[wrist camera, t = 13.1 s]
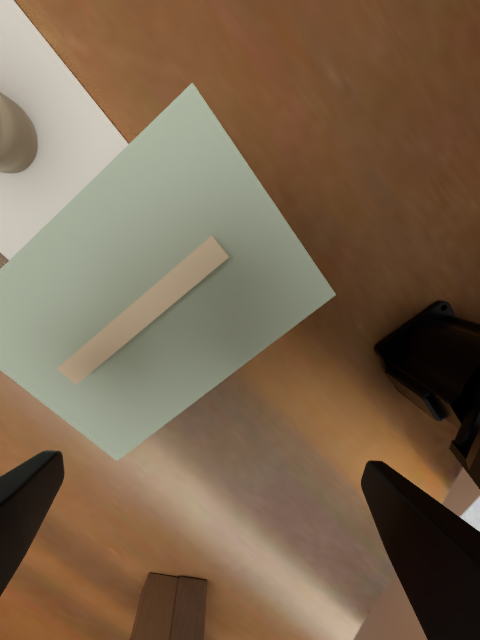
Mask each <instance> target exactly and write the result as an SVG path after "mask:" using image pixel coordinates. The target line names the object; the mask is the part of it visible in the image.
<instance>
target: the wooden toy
mask: <svg viewBox="0 0 480 640" xmlns="http://www.w3.org/2000/svg"><path fill="white" fill-rule="evenodd" d="M206 587H207V582H206V580H202V579H196V578H189V577H183V576H180V577H179V579H178V577H172V576H166V575H159V574H152V573H149V575H148V577H147V580H146V582H145V585H144V587H143V590H142V593H141V597H140V601H139V605H138V609H137V613H136V618H135V622H134V626H133V630H132V634H131V638H130V640H204V628H205V607H206Z"/></svg>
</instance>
